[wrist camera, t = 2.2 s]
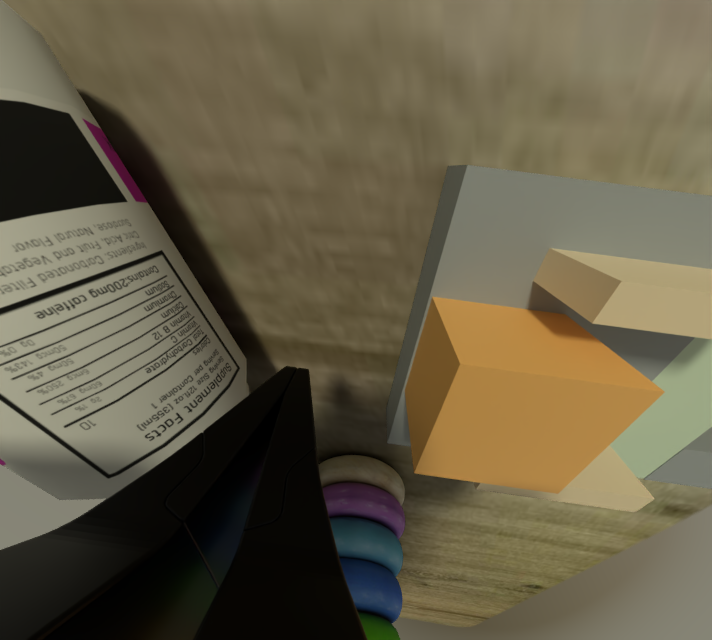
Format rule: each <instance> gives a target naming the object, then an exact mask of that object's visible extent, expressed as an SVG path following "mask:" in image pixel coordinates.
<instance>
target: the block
mask: <svg viewBox="0 0 712 640" xmlns="http://www.w3.org/2000/svg"><path fill="white" fill-rule="evenodd" d="M664 393H665V391H663V390H662V389H661V388H659V387H658V386H657V385H656V384H654V383H653V382H652V381H650V380H649V379H648V378H647V377H645V376H644V375H643V374H641V373H640V372H639V371H638V370H636V369H635V368H634V367H632V366H631V365H630V364H629V363H627V362H626V361H625V360H623V359H622V358H621V357H620V356H618V355H617V354H616V353H614V352H613V351H612V350H611V349H609V348H608V347H607V346H605V345H604V344H603V343H602V342H600V341H599V340H598V339H596V338H595V337H594V336H593V335H591V334H590V333H589V332H587V331H586V330H585V329H584V328H582V327H581V326H580V325H578V324H577V323H576V322H575V321H573V320H572V319H571V318H569V317H568V316H567V315H566V314H559V313H552V312H544V311H537V310H529V309H522V308H514V307H507V306H499V305H492V304H484V303H477V302H469V301H462V300H454V299H447V298H439V297H432V299H431V302H430V306H429V309H428V313H427V316H426V319H425V323H424V326H423V330H422V333H421V336H420V340H419V343H418V347H417V350H416V353H415V357H414V360H413V364H412V367H411V370H410V374H409V377H408V381H407V384H406V387H405V398H406V407H407V416H408V425H409V433H410V442H411V451H412V460H413V469H414V473H415V474H422V475H429V476H436V477H443V478H450V479H457V480H464V481H471V482H478V483H485V484H492V485H499V486H506V487H513V488H520V489H527V490H534V491H542V492H549V493H556V494H558V493H559V492H561V491H562V490H563V489H564V488H565V487H566V486H567V485H568V484H569V483H570V482H571V481H572V480H573V479H574V478H575V477H576V476H577V475H578V474H579V473H580V472H582V471H583V470H584V469H585V468H586V467H587V466H588V465H589V464H590V463H591V462H592V461H593V460H594V459H595V458H596V457H597V456H598V455H599V454H600V453H602V452H603V451H604V450H605V449H606V448H607V447H608V446H609V445H610V444H611V443H612V442H613V441H614V440H615V439H616V438H617V437H618V436H619V435H620V434H621V433H623V432H624V431H625V430H626V429H627V428H628V427H629V426H630V425H631V424H632V423H633V422H634V421H635V420H636V419H637V418H638V417H639V416H640V415H641V414H642V413H644V412H645V411H646V410H647V409H648V408H649V407H650V406H651V405H652V404H653V403H654V402H655V401H656V400H657V399H658V398H659V397H660V396H661V395H662V394H664Z"/></svg>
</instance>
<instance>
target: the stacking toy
mask: <svg viewBox="0 0 712 640" xmlns="http://www.w3.org/2000/svg"><path fill="white" fill-rule="evenodd" d="M319 472H320V479H321V484H322V489H323V493H324V498H325V502H326V506H327V510H328V514H329V519H330V523H331V527H332V531H333V535H334V539H335V543H336V547H337V551H338V555H339V559H340V563H341V566H342V569H343V573H344V576H345V579H346V582H347V585H348V587H349V590H350V593H351V595H352V598H353V601H354V604H355V606H356V609H357V612H358V614H359V617H360V620H361V623H362V625H363V628H364V631H365V633H366V636H367V639H368V640H400V638H399V635H398V632H397V631H396V629H395V628H394V627H393V625H392V623H393V622H394V621H396V619H397V618H398V617H399V615H400V612H401V608H402V592H401V588H400V585H399V583H398V581H397V579H396V578H395V577H396V576H397V575H398V573H399V572H400V570H401V567H402V563H403V552H402V547H401V544H400V542H399V540H398V539H399V538H400V537H401V536H402V534H403V531H404V528H405V515H404V511H403V509H402V504H403V502H404V498H405V487H404V483H403V481H402V479H401V477H400V475H399V474H398V473H397V472H396V471H395V470H394V469H393V468H391V467H390V466H389V465H387V464H385V463H384V462H382V461H379V460H377V459H374V458H371V457H367V456H361V455H344V456H338V457H334V458H331V459H328V460H326V461H324V462H322V463H321V464H319Z"/></svg>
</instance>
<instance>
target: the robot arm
mask: <svg viewBox="0 0 712 640" xmlns="http://www.w3.org/2000/svg"><path fill="white" fill-rule="evenodd" d="M0 640H368V639H367V636H366V633H365V631H364V628H363V625H362V623H361V620H360V617H359V614H358V612H357V609H356V606H355V604H354V601H353V598H352V595H351V593H350V590H349V587H348V585H347V582H346V579H345V576H344V573H343V569H342V566H341V563H340V559H339V555H338V551H337V547H336V543H335V539H334V535H333V531H332V527H331V523H330V519H329V514H328V510H327V506H326V502H325V498H324V493H323V489H322V484H321V479H320V472H319V465H318V456H317V449H316V437H315V427H314V417H313V407H312V396H311V386H310V376H309V370H308V369H304V368H298V369H297V368H296V367H290V366H286V367H284V368H283V369H281V370H280V371H279V372H278V373H276V374H275V375H274V376H273V377H271V378H270V379H269V380H267V381H266V382H265V383H264V384H262V385H261V386H260V387H258V388H257V389H256V390H255V391H253V392H252V393H251V394H250V395H248V396H247V397H246V398H244V399H243V400H242V401H241V402H239V403H238V404H237V405H236V406H234V407H233V408H232V409H230V410H229V411H228V412H227V413H225V414H224V415H223V416H221V417H220V418H219V419H218V420H216V421H215V422H214V423H213V424H211V425H210V426H209V427H207V428H206V429H205V430H204V431H203V433H200V434H198V435H197V436H196V437H195V438H193V439H192V440H191V441H189V442H188V443H187V444H185V445H184V446H183V447H181V448H180V449H179V450H177V451H176V452H175V453H173V454H172V455H171V456H169V457H168V458H166V459H165V460H164V461H162V462H161V463H159V464H158V465H156V466H155V467H153V468H152V469H151V470H149V471H148V472H146V473H145V474H143V475H142V476H140V477H139V478H137V479H136V480H134V481H133V482H131V483H130V484H128V485H127V486H125V487H124V488H122V489H121V490H119V491H118V492H116V493H115V494H113V495H112V496H110V497H109V498H107V499H106V500H104V501H103V502H101V503H100V504H98V505H97V506H95V507H94V508H93V509H91V510H89V511H88V512H86V513H84V514H83V515H81V516H80V517H78V518H76V519H74V520H73V521H71V522H69V523H67V524H65V525H63V526H61V527H59V528H57V529H55V530H53V531H50V532H48V533H46V534H43V535H41V536H38V537H35V538H32V539H30V540H27V541H24V542H21V543H18V544H16V545H13V546H10V547H8V548H5V549H2V550H0Z"/></svg>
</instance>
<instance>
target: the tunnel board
mask: <svg viewBox="0 0 712 640" xmlns="http://www.w3.org/2000/svg"><path fill="white" fill-rule="evenodd" d="M432 297H439V298H447V299H454V300H462V301H469V302H477V303H484V304H492V305H499V306H507V307H514V308H522V309H529V310H537V311H544V312H552V313H559V314H566V315H567V316H568V317H569V318H571V319H572V320H573V321H575V322H576V323H577V324H578V325H580V326H581V327H582V328H584V329H585V330H586V331H587V332H589V333H590V334H591V335H593V336H594V337H595V338H596V339H598V340H599V341H600V342H602V343H603V344H604V345H605V346H607V347H608V348H609V349H611V350H612V351H613V352H614V353H616V354H617V355H618V356H620V357H621V358H622V359H623V360H625V361H626V362H627V363H629V364H630V365H631V366H632V367H634V368H635V369H636V370H638V371H639V372H640V373H641V374H643V375H644V376H645V377H647V378H648V379H649V380H650V381H652V382H653V383H654V384H656V385H657V386H658V387H659V388H661V389H662V390H663V391H665V393H664V394H662V395H661V396H660V397H659V398H658V399H657V400H656V401H655V402H654V403H653V404H652V405H651V406H650V407H649V408H648V409H647V410H646V411H645V412H644V413H642V414H641V415H640V416H639V417H638V418H637V419H636V420H635V421H634V422H633V423H632V424H631V425H630V426H629V427H628V428H627V429H626V430H625V431H624V432H623V433H621V434H620V435H619V436H618V437H617V438H616V439H615V440H614V441H613V442H612V443H611V444H610V445H609V446H608V447H607V448H606V449H605V450H604V451H603V452H602V453H600V454H599V455H598V456H597V457H596V458H595V459H594V460H593V461H592V462H591V463H590V464H589V465H588V466H587V467H586V468H585V469H584V470H583V471H582V472H580V473H579V474H578V475H577V476H576V477H575V478H574V479H573V480H572V481H571V482H570V483H569V484H568V485H567V486H566V487H565V488H564V489H563V490H562V491H561V492H559V493H558V494H556V493H549V492H542V491H534V490H527V489H520V488H513V487H506V486H499V485H492V484H485V483H478V482H474V485H475V488H476V490H483V491H490V492H497V493H504V494H511V495H518V496H525V497H532V498H539V499H546V500H553V501H560V502H567V503H574V504H581V505H588V506H595V507H602V508H609V509H616V510H623V511H630V512H636V511H638V510H639V509H641V508H642V507H644V506H645V505H646V504H648V503H649V502H651V501H652V500H654V497H653V496H652V495H651V494H650V493H649V492H648V490H647V489H646V488H645V487H644V486H643V484H642V483H641V482H640V481H639V480H638V478H643V479H645V480H652V481H659V482H666V483H673V484H680V485H687V486H694V487H702V488H709V489H712V196H708V195H700V194H692V193H684V192H677V191H669V190H661V189H653V188H645V187H637V186H629V185H621V184H614V183H606V182H598V181H590V180H582V179H574V178H566V177H558V176H551V175H543V174H535V173H527V172H519V171H511V170H503V169H495V168H488V167H480V166H472V165H457V166H448V169H447V172H446V176H445V180H444V184H443V188H442V192H441V196H440V200H439V204H438V208H437V212H436V216H435V220H434V224H433V227H432V231H431V235H430V239H429V243H428V247H427V251H426V255H425V259H424V263H423V267H422V271H421V275H420V278H419V282H418V286H417V290H416V294H415V298H414V302H413V306H412V310H411V314H410V318H409V322H408V326H407V330H406V333H405V337H404V341H403V345H402V349H401V353H400V357H399V361H398V365H397V369H396V373H395V377H394V381H393V384H392V388H391V392H390V396H389V400H388V404H387V408H386V415H387V443H389V444H396V445H403V446H410V447H411V442H410V433H409V425H408V416H407V407H406V398H405V387H406V384H407V381H408V377H409V374H410V370H411V367H412V364H413V360H414V357H415V353H416V350H417V347H418V343H419V340H420V336H421V333H422V330H423V326H424V323H425V319H426V316H427V313H428V309H429V306H430V302H431V299H432Z"/></svg>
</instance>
